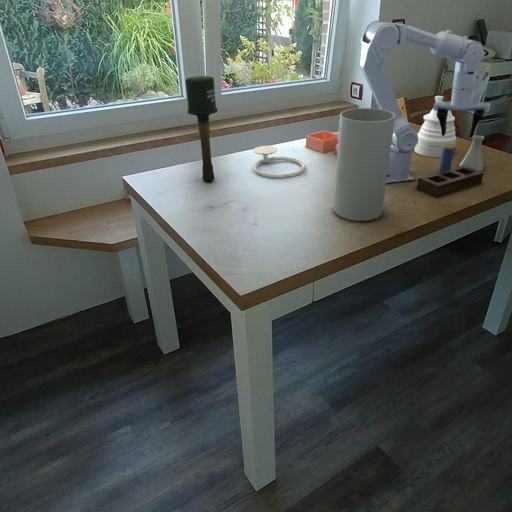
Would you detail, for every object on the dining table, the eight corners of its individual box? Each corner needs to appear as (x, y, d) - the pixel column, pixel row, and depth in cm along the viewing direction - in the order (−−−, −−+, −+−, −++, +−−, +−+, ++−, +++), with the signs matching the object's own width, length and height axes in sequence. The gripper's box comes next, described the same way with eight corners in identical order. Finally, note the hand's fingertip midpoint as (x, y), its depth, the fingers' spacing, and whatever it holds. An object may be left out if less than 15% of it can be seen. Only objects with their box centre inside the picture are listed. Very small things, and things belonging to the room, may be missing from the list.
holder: (416, 189, 126) (418, 177, 124) (460, 176, 133) (463, 165, 132) (436, 197, 121) (438, 186, 119) (480, 183, 128) (483, 172, 126)
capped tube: (441, 176, 133) (447, 148, 129) (434, 172, 136) (439, 144, 132) (452, 175, 134) (458, 146, 129) (445, 171, 137) (451, 143, 132)
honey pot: (406, 148, 156) (414, 96, 147) (434, 143, 161) (443, 92, 151) (433, 159, 146) (443, 104, 137) (461, 153, 151) (473, 99, 141)
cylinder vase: (348, 197, 122) (356, 105, 109) (390, 209, 115) (404, 112, 102) (324, 214, 114) (330, 116, 101) (368, 227, 107) (380, 124, 94)
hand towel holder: (272, 169, 131) (237, 151, 146) (272, 183, 133) (238, 164, 148) (316, 157, 138) (278, 141, 153) (315, 170, 141) (278, 153, 156)
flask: (480, 173, 134) (488, 141, 129) (455, 169, 138) (462, 138, 133) (486, 166, 139) (494, 135, 134) (462, 162, 143) (469, 132, 138)
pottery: (305, 146, 162) (306, 119, 156) (324, 141, 166) (325, 115, 161) (341, 159, 149) (343, 130, 144) (360, 153, 154) (363, 125, 149)
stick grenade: (218, 186, 132) (210, 81, 116) (191, 185, 134) (179, 81, 118) (225, 176, 139) (218, 75, 123) (199, 174, 141) (189, 75, 125)
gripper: (494, 83, 121) (486, 132, 129) (439, 84, 128) (434, 130, 135) (491, 90, 116) (483, 140, 124) (433, 90, 123) (429, 137, 131)
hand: (457, 135), depth 129 cm, fingers open, 7 cm apart
